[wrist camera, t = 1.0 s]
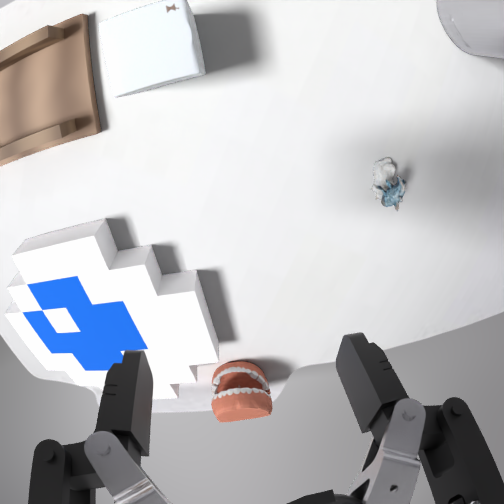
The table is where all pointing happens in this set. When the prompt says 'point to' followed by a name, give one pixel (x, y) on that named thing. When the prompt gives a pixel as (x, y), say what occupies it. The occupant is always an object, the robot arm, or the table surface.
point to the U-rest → (47, 90)
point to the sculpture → (387, 183)
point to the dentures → (240, 392)
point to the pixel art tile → (108, 308)
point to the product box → (151, 47)
